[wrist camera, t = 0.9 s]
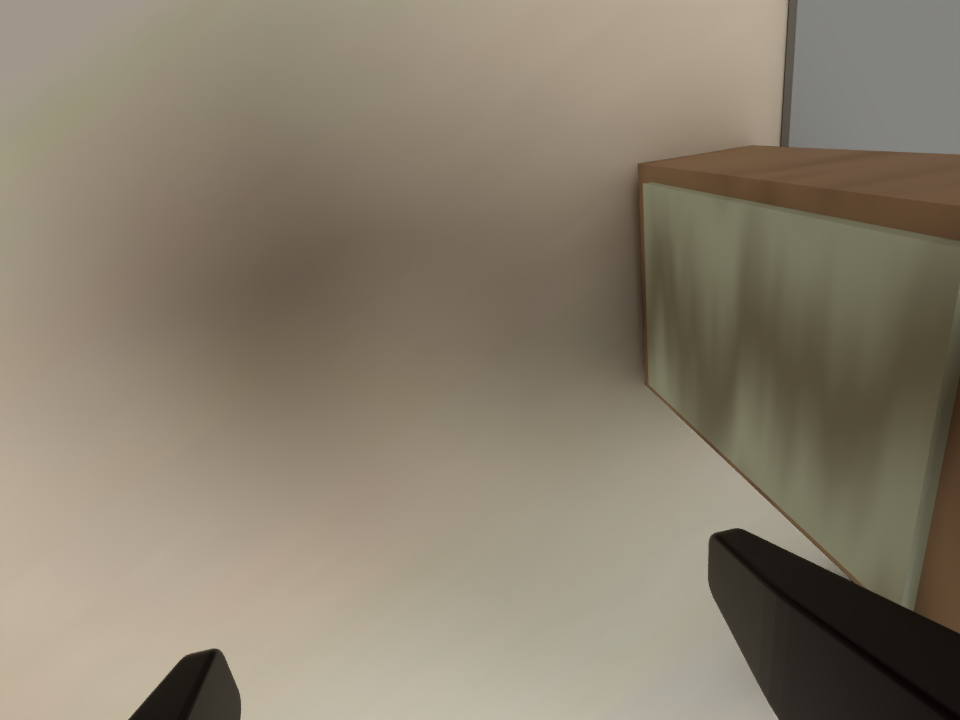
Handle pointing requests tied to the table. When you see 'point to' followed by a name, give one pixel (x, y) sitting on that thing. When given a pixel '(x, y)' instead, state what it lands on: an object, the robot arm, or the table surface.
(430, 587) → the table surface
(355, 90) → the table surface
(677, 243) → the brown green box
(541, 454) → the table surface
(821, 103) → the mat
